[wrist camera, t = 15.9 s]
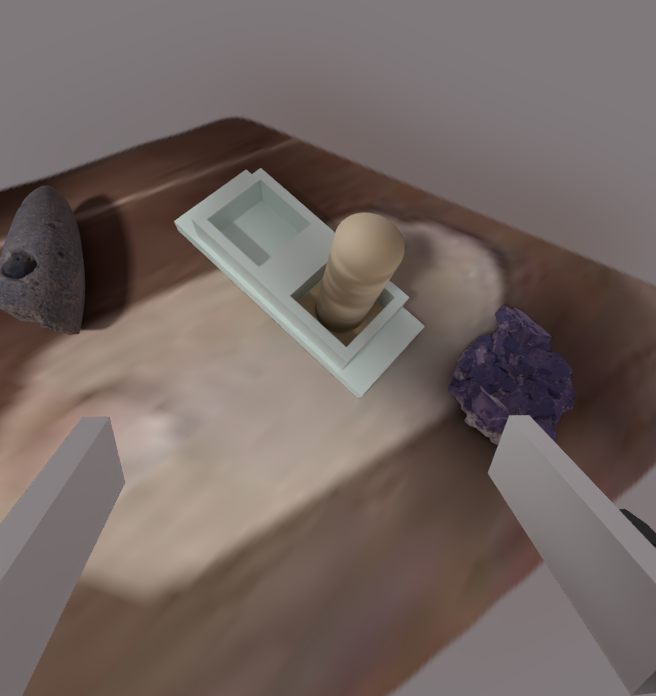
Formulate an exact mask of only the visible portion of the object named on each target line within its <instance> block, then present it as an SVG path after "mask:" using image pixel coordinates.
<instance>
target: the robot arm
mask: <svg viewBox="0 0 656 696" xmlns="http://www.w3.org/2000/svg"><path fill="white" fill-rule="evenodd" d="M488 474H489V476H490V477H491V479H492V481H493V482H494V484H495V485H496V487H497V488H498V490H499V491H500V493H501V494H502V496H503V498H504V499H505V501H506V502H507V504H508V505H509V507H510V508H511V510H512V512H513V513H514V515H515V516H516V518H517V519H518V521H519V522H520V524H521V526H522V527H523V529H524V530H525V532H526V533H527V535H528V536H529V538H530V539H531V541H532V543H533V544H534V546H535V547H536V549H537V550H538V552H539V553H540V555H541V557H542V558H543V560H544V561H545V563H546V564H547V566H548V567H549V569H550V570H551V572H552V574H553V575H554V577H555V578H556V580H557V581H558V583H559V584H560V586H561V588H562V589H563V591H564V592H565V594H566V595H567V597H568V598H569V600H570V601H571V603H572V605H573V606H574V608H575V609H576V611H577V612H578V614H579V615H580V617H581V619H582V620H583V622H584V623H585V625H586V626H587V628H588V629H589V631H590V632H591V634H592V636H593V637H594V639H595V640H596V642H597V643H598V645H599V647H600V648H601V650H602V651H603V653H604V654H605V656H606V657H607V659H608V660H609V662H610V663H611V665H612V667H613V668H614V670H615V671H616V673H617V674H618V676H619V678H620V679H621V681H622V682H623V684H624V685H625V687H626V688H627V690H628V692H629V693H630V695H641V694H649V693H656V533H655V532H654V531H653V530H652V529H651V528H650V527H649V526H648V525H647V524H646V523H644V522H643V521H642V520H640V519H639V518H637V517H636V516H634V515H633V514H632V513H630V512H629V511H627V510H626V509H618V508H617V507H616V506H615V505H614V504H613V503H612V502H611V501H610V500H609V499H608V498H607V497H606V496H605V495H604V494H603V492H602V491H601V490H600V489H599V488H598V487H597V486H596V485H595V484H594V483H593V482H592V481H591V480H590V479H589V478H588V477H587V476H586V475H585V474H584V472H583V471H582V470H581V469H580V468H579V467H578V466H577V465H576V464H575V463H574V462H573V461H572V460H571V459H570V458H569V457H568V456H567V455H566V453H565V452H564V451H563V450H562V449H561V448H560V447H559V446H558V445H557V444H556V443H555V442H554V441H553V440H552V439H551V438H550V437H549V436H548V435H547V433H546V432H545V431H544V430H543V429H542V428H541V427H540V426H539V425H538V424H537V423H536V422H535V421H534V420H533V419H532V418H531V417H530V416H529V415H509V417H508V420H507V423H506V425H505V428H504V431H503V433H502V436H501V439H500V442H499V444H498V447H497V450H496V452H495V455H494V458H493V460H492V463H491V466H490V468H489V471H488ZM124 484H125V480H124V476H123V472H122V467H121V463H120V459H119V455H118V450H117V446H116V442H115V438H114V434H113V429H112V425H111V421H110V417H82V418H81V420H80V421H79V422H78V424H77V425H76V426H75V428H74V429H73V430H72V432H71V433H70V434H69V435H68V437H67V438H66V439H65V441H64V442H63V443H62V445H61V446H60V447H59V448H58V450H57V451H56V452H55V454H54V455H53V456H52V458H51V459H50V460H49V461H48V463H47V464H46V465H45V467H44V468H43V469H42V471H41V472H40V473H39V474H38V476H37V477H36V478H35V480H34V481H33V482H32V484H31V485H30V486H29V487H28V489H27V490H26V491H25V493H24V494H23V495H22V497H21V498H20V499H19V501H18V502H17V503H16V504H15V506H14V507H13V508H12V510H11V511H10V512H9V514H8V515H7V516H6V517H5V519H4V520H3V521H2V523H1V524H0V696H22V695H23V693H24V691H25V688H26V686H27V684H28V682H29V680H30V678H31V676H32V674H33V672H34V670H35V668H36V666H37V664H38V662H39V660H40V657H41V655H42V653H43V651H44V649H45V647H46V645H47V643H48V641H49V639H50V637H51V635H52V633H53V631H54V629H55V626H56V624H57V622H58V620H59V618H60V616H61V614H62V612H63V610H64V608H65V606H66V604H67V602H68V600H69V598H70V595H71V593H72V591H73V589H74V587H75V585H76V583H77V581H78V579H79V577H80V575H81V573H82V571H83V569H84V567H85V564H86V562H87V560H88V558H89V556H90V554H91V552H92V550H93V548H94V546H95V544H96V542H97V540H98V538H99V536H100V533H101V531H102V529H103V527H104V525H105V523H106V521H107V519H108V517H109V515H110V513H111V511H112V509H113V507H114V505H115V502H116V500H117V498H118V496H119V494H120V492H121V490H122V488H123V486H124Z"/></svg>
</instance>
